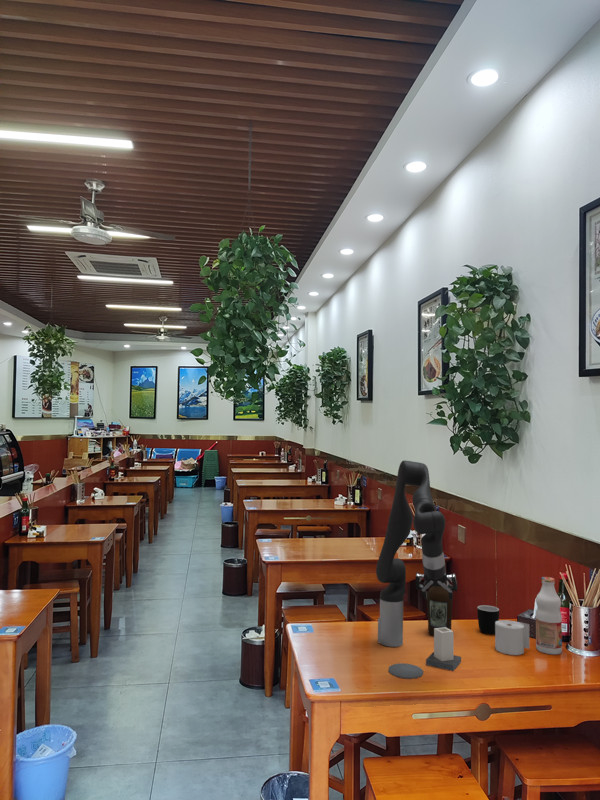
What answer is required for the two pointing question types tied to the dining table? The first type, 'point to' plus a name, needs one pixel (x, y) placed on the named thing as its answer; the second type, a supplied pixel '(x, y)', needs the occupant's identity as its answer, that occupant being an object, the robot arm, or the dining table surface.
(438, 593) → the olive oil
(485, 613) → the mug
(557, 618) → the fruit juice
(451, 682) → the dining table surface
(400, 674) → the mat
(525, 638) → the toilet tissue
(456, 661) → the post stand
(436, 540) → the robot arm
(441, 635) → the sleeve
